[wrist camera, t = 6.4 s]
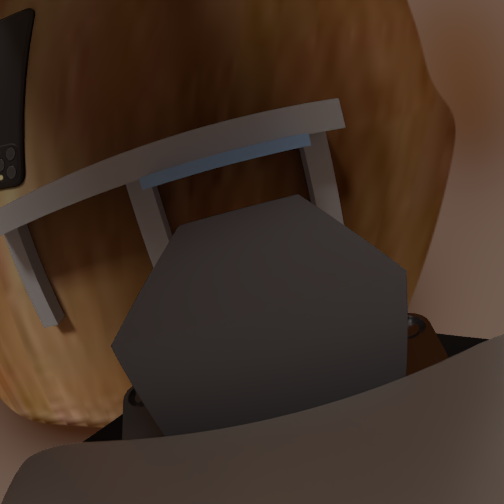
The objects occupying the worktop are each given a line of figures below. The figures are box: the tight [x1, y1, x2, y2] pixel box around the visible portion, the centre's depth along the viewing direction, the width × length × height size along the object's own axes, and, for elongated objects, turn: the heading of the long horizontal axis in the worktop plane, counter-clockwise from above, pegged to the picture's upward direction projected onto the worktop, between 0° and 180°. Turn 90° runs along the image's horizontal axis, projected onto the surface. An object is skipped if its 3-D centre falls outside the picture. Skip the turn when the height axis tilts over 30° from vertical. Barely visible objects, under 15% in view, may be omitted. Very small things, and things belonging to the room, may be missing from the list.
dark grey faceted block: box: [111, 194, 408, 436], centre depth 9 cm, size 8×4×8 cm, turn 14°
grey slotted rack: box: [0, 98, 346, 328], centre depth 18 cm, size 10×24×6 cm, turn 104°
